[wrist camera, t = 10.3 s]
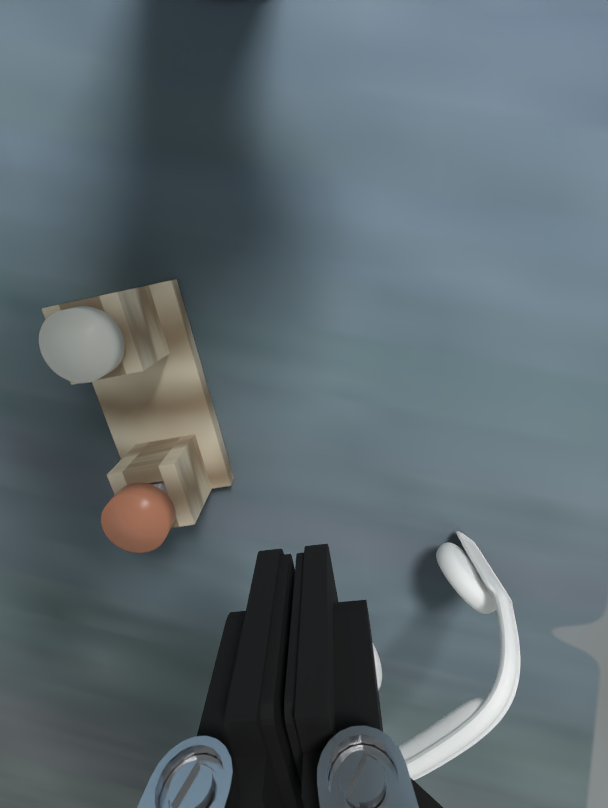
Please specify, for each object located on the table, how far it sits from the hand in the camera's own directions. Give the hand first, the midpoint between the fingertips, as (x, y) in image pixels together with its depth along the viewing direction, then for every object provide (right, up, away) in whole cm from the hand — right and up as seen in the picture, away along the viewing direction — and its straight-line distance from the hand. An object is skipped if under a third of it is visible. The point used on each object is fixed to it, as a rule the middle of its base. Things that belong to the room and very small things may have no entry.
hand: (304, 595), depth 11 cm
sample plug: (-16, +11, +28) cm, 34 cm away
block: (-14, +5, +32) cm, 35 cm away
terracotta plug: (-13, -2, +31) cm, 34 cm away
